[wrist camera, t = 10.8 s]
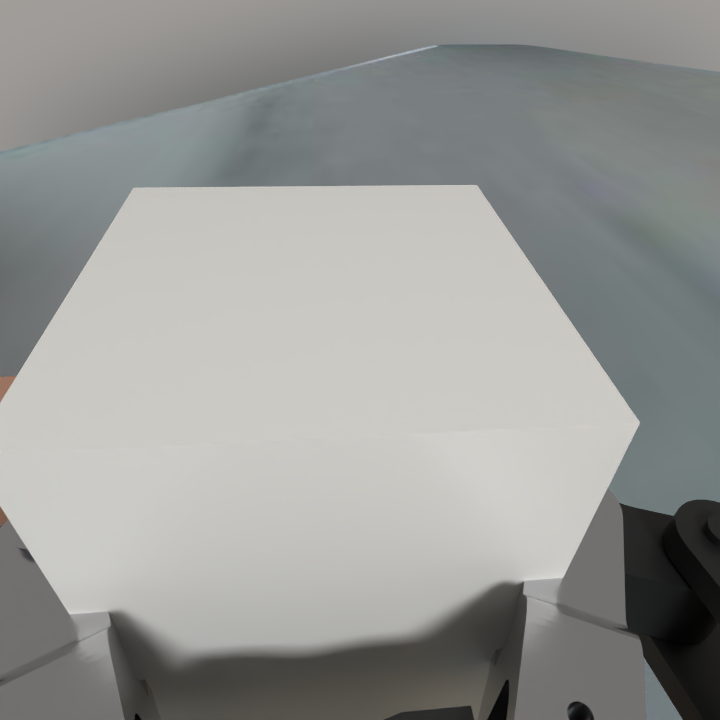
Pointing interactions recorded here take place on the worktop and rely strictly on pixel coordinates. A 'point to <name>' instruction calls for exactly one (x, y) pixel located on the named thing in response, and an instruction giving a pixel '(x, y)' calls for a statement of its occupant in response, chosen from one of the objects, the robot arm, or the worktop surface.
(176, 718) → the white rectangular block
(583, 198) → the worktop surface
